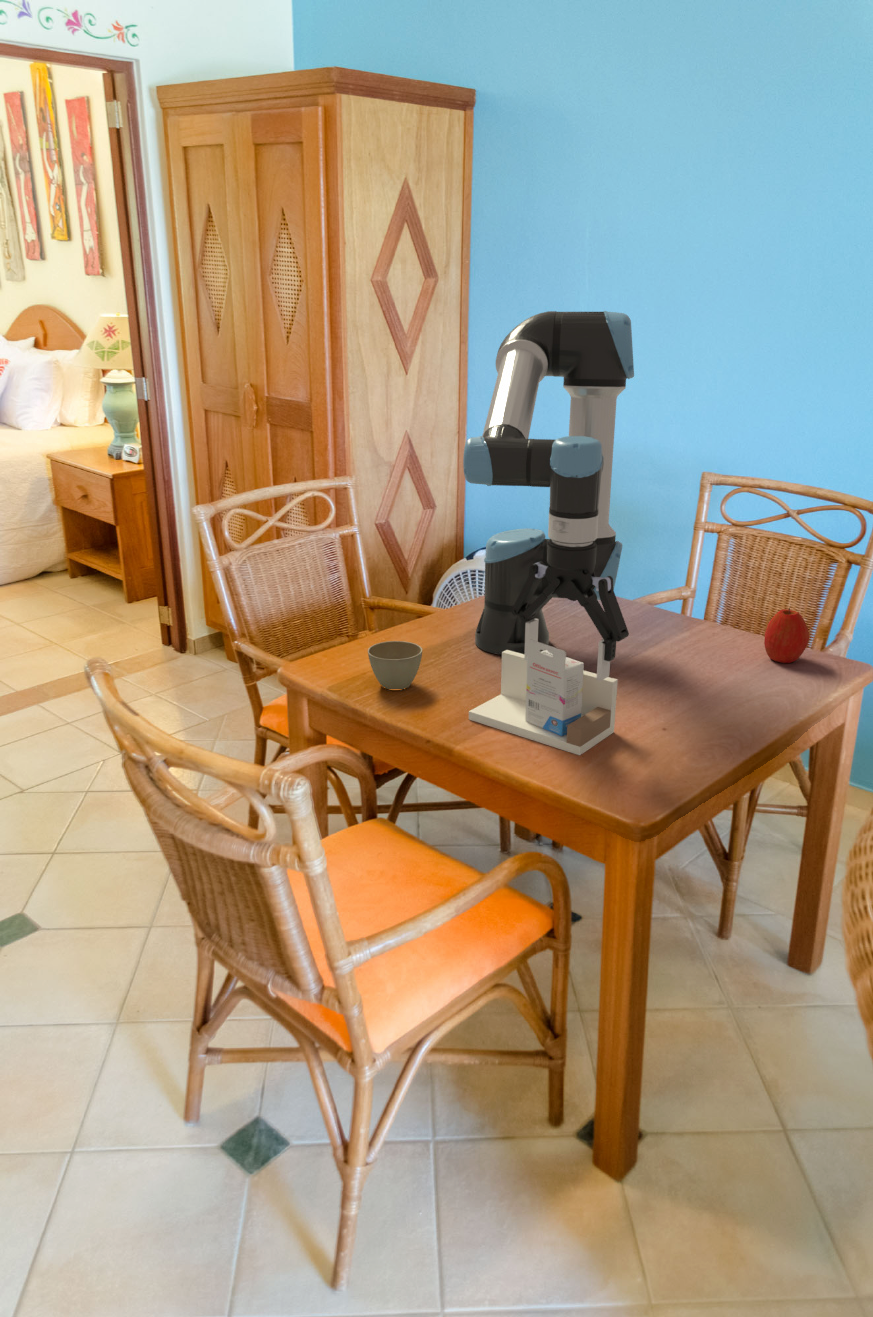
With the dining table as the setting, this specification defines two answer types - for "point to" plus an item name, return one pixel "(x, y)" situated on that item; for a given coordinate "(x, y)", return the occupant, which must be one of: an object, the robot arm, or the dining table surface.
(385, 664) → the flower pot
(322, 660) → the dining table surface
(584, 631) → the dining table surface
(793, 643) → the apple
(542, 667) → the ink box
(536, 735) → the shelf
